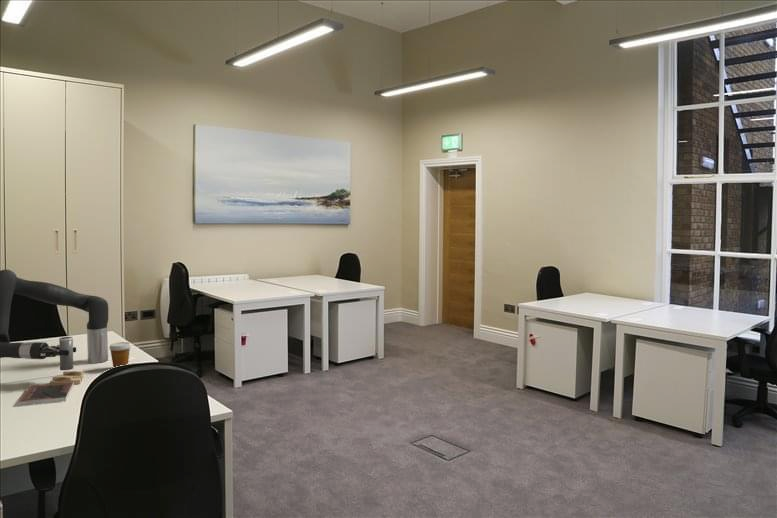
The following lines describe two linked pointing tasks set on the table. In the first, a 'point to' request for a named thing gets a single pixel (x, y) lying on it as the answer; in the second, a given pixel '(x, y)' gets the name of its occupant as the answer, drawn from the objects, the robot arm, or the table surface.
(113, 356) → the disposable coffee cup
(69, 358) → the domed lid canister
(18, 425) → the table surface
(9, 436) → the table surface
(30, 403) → the picture frame
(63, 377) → the stand
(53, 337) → the table surface
